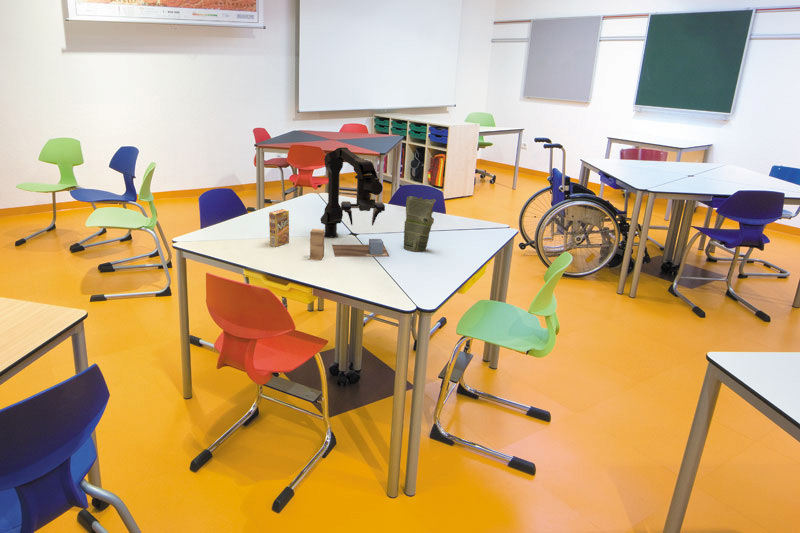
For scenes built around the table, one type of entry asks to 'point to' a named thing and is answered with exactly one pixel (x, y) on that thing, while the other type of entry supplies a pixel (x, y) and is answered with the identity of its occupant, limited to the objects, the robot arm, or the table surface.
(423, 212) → the pouch
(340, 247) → the board
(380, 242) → the slate cube
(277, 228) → the candy box
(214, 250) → the table surface
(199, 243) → the table surface
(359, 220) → the table surface
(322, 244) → the oak block
